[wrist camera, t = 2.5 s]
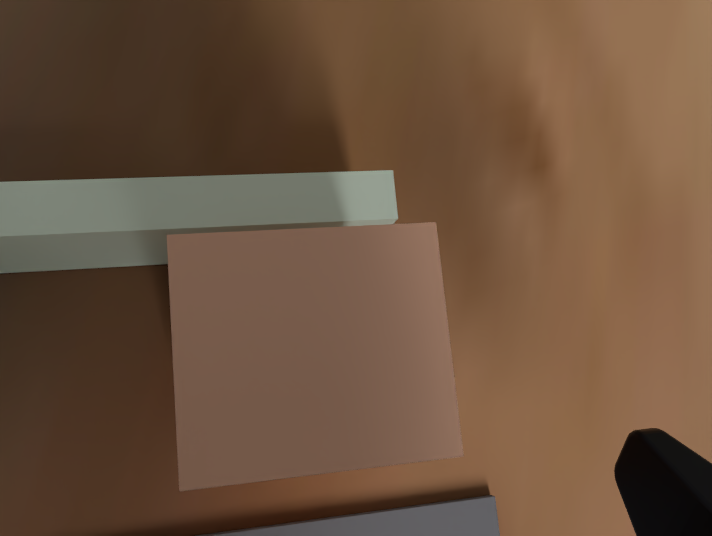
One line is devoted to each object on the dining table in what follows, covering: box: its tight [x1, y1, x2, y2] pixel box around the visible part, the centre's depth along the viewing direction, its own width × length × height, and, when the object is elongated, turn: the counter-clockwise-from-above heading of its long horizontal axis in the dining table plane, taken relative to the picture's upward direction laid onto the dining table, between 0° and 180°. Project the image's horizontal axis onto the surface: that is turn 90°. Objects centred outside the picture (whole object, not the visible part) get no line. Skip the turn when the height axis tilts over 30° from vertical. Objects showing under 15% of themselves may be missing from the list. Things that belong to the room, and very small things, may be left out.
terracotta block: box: [167, 222, 464, 491], centre depth 14 cm, size 4×4×10 cm
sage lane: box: [0, 170, 398, 273], centre depth 16 cm, size 7×12×4 cm, turn 95°
